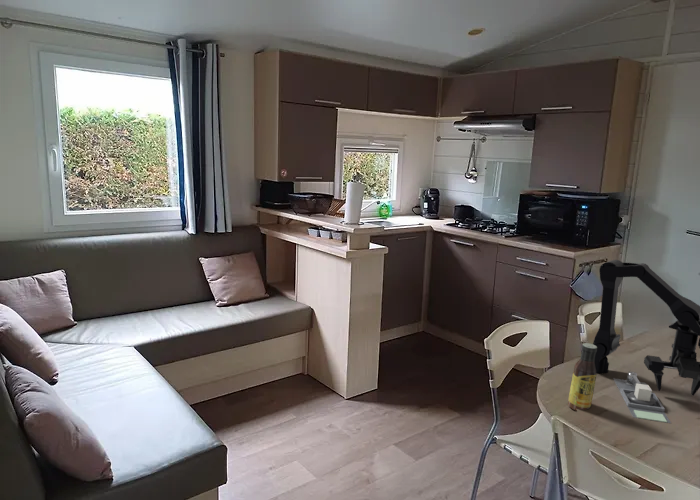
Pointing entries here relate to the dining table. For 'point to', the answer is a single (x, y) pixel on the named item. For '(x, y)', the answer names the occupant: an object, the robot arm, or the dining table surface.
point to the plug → (642, 395)
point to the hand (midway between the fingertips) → (675, 392)
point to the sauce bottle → (583, 379)
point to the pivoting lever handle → (632, 378)
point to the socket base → (637, 409)
